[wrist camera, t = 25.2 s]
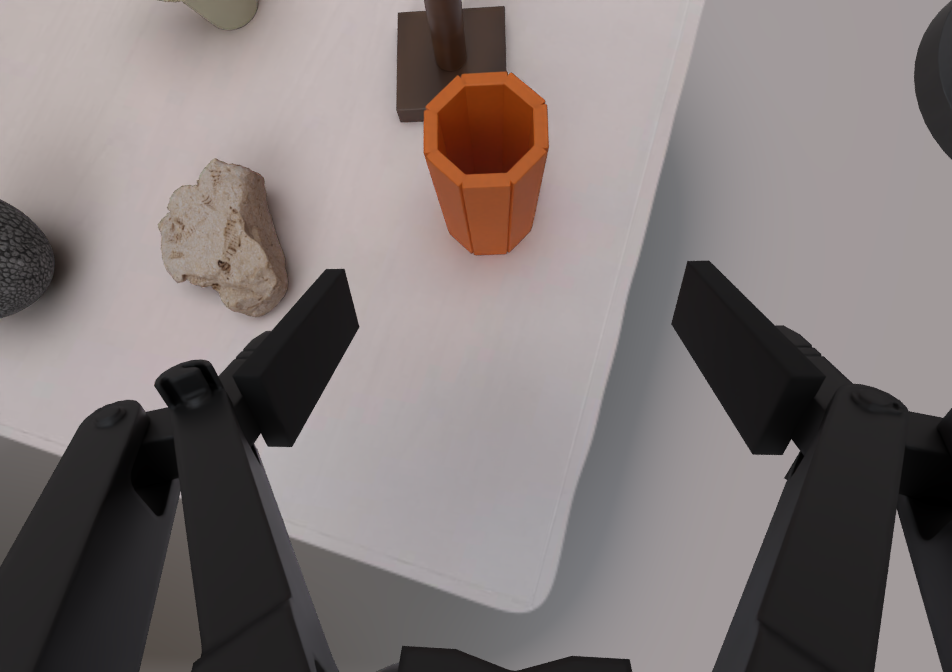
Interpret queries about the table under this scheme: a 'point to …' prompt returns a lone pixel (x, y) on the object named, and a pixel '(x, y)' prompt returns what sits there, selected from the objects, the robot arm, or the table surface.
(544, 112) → the orange octagonal sleeve
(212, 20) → the mug
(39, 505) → the robot arm
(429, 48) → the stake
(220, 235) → the stone
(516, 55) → the table surface
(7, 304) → the decorative ball
